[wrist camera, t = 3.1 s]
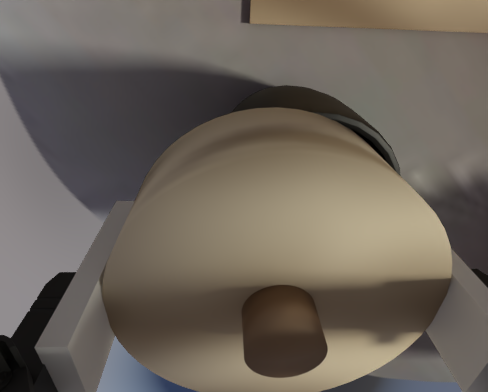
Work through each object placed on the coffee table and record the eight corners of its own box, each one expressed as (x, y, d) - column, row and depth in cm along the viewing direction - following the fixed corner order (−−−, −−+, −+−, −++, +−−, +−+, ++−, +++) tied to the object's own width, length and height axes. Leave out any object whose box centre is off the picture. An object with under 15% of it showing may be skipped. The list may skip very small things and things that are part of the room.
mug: (146, 157, 22) (99, 249, 14) (288, 33, 18) (338, 58, 10) (225, 229, 25) (224, 335, 17) (357, 136, 22) (434, 217, 14)
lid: (113, 102, 11) (22, 184, 6) (431, 111, 11) (579, 190, 7) (150, 318, 16) (119, 447, 12) (359, 315, 17) (411, 435, 12)
